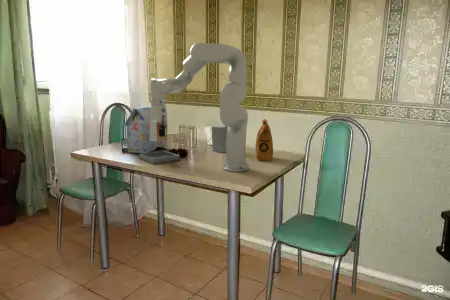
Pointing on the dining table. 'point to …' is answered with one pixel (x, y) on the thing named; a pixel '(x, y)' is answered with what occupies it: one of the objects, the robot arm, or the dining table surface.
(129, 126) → the lunch bag
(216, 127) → the skincare box
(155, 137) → the small box
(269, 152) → the coffee package
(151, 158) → the tray
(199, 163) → the dining table surface
